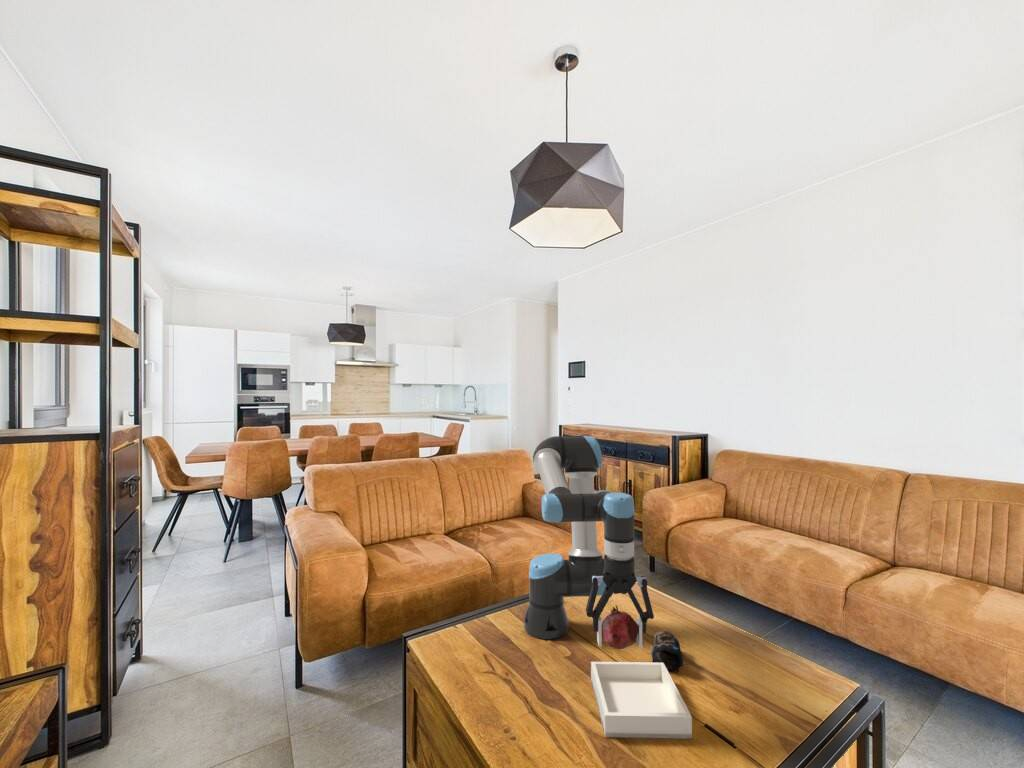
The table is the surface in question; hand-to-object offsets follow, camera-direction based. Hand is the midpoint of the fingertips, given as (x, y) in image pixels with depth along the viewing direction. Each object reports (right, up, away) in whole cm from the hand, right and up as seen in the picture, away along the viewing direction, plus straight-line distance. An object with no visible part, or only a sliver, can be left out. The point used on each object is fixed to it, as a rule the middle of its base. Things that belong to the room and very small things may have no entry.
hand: (619, 644), depth 111 cm
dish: (+5, -16, 0) cm, 17 cm away
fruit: (0, 0, 0) cm, 0 cm away
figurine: (+19, -16, +19) cm, 32 cm away
